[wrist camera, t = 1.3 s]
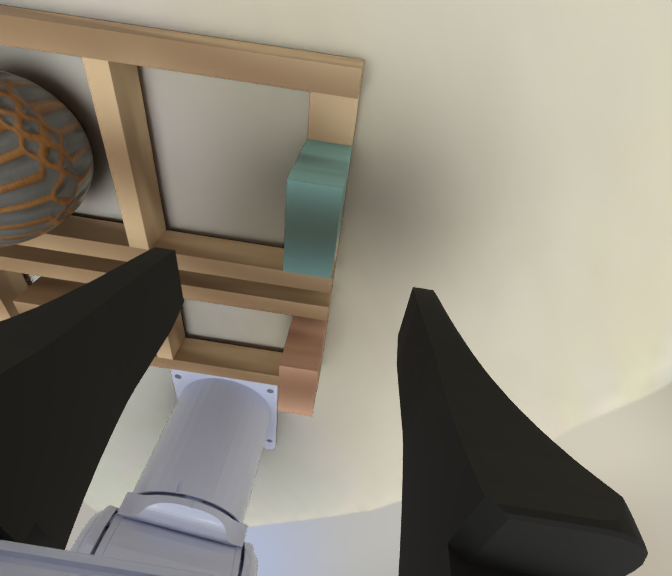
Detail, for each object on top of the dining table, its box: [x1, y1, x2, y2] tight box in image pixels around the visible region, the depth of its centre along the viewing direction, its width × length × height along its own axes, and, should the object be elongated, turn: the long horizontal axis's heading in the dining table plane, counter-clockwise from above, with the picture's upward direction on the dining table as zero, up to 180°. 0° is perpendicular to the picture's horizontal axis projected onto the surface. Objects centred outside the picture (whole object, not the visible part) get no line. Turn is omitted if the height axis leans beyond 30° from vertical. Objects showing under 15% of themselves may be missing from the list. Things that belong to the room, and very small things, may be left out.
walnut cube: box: [13, 276, 87, 314], centre depth 24 cm, size 4×4×4 cm
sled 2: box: [0, 244, 333, 416], centre depth 23 cm, size 8×20×5 cm, turn 83°
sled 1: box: [0, 5, 364, 293], centre depth 17 cm, size 10×20×5 cm, turn 83°
